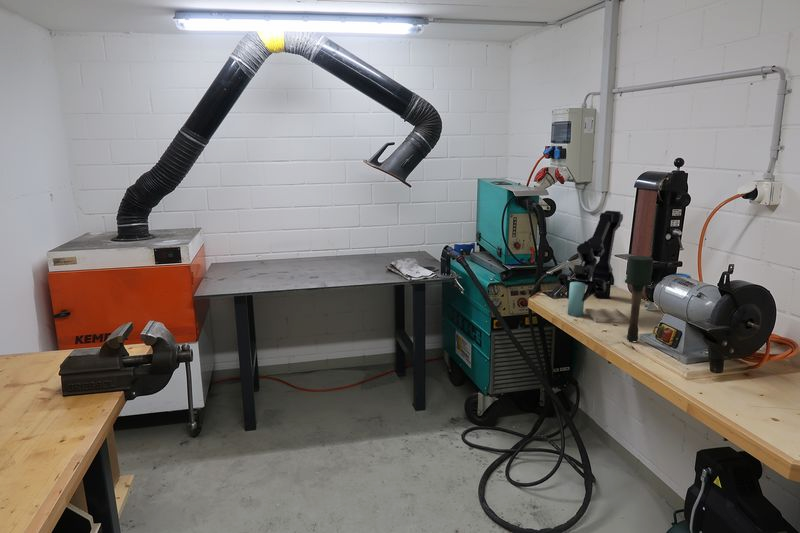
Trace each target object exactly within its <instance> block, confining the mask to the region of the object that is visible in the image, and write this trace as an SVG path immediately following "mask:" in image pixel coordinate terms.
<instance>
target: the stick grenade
mask: <svg viewBox="0 0 800 533" xmlns="http://www.w3.org/2000/svg"><path fill="white" fill-rule="evenodd" d="M653 266H654V258H653V257H650V256H647V255H646V256H645V255H631V256H630V255H629V256H628V257H627V267H626V275H625V276H626V277H625V279H624V283H625V284H627V285H629V286H632V288H631V290H632V291H631V292H632V293H631V307H630V317H629V326H628V328H627V334H626V339H627V341H628V340H629V341H628V342H630V341H637V342H638V340H639V316H640V310H641V303H642V291H643V287H644V286H651V285H652V283H653V282H652V275H653V274H652V273H653Z"/></svg>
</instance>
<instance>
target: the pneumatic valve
mask: <svg viewBox="0 0 800 533" xmlns="http://www.w3.org/2000/svg"><path fill="white" fill-rule="evenodd" d="M642 300H643V301H645V304H644V309H645V310H648V311H649V312H653V311H655V312H657V311H658V308H657V307H656V306H655V305H654V303H653V302H650V301H648V300H645V299H643V298H642V299H641V301H642Z"/></svg>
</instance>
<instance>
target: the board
mask: <svg viewBox="0 0 800 533" xmlns="http://www.w3.org/2000/svg"><path fill="white" fill-rule="evenodd" d="M584 313H585V314H586V315H587V316H588V317H590V318H591V320H593V321H594V322H595V323H630V317H628V316H626V315H625V314H624V313H623V312H622V311H620V310H619V309H618V308H584Z"/></svg>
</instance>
